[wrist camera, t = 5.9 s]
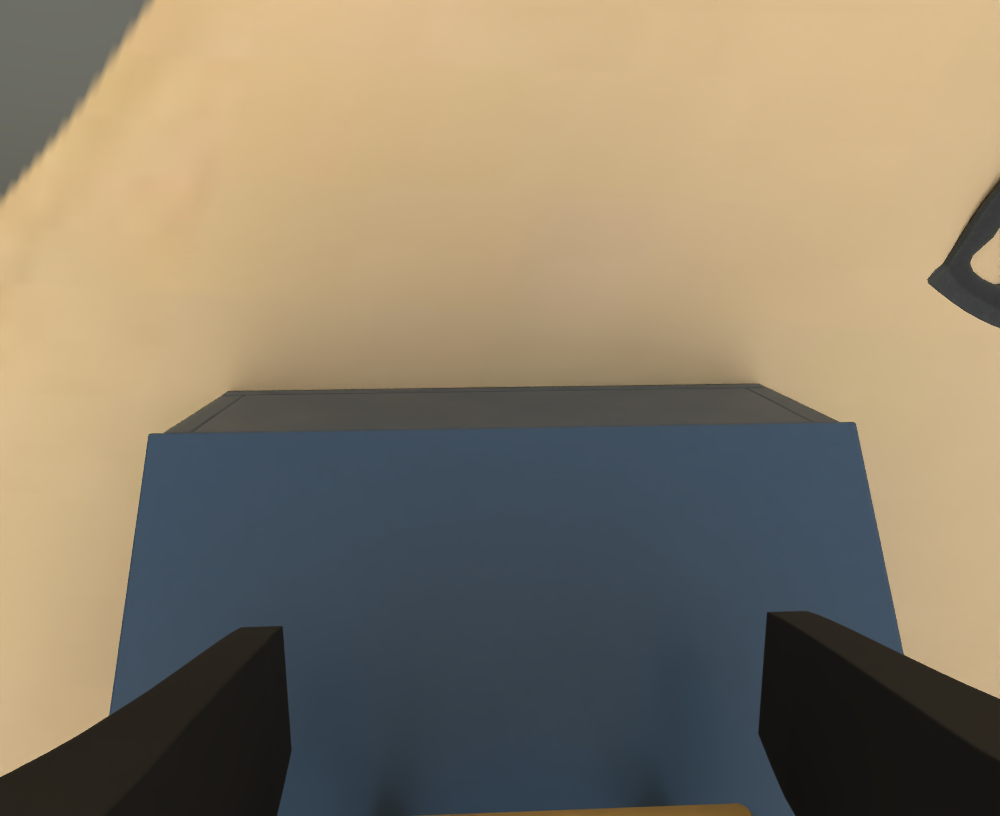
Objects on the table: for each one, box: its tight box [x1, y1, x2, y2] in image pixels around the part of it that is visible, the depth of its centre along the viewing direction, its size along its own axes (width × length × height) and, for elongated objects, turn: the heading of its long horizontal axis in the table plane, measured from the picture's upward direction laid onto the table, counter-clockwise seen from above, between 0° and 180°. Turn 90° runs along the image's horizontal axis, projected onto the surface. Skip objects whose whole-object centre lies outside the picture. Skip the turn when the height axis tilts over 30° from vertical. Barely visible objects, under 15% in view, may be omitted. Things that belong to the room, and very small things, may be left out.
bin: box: [164, 384, 838, 433], centre depth 20 cm, size 13×14×5 cm
